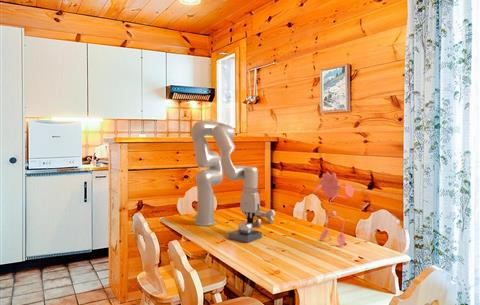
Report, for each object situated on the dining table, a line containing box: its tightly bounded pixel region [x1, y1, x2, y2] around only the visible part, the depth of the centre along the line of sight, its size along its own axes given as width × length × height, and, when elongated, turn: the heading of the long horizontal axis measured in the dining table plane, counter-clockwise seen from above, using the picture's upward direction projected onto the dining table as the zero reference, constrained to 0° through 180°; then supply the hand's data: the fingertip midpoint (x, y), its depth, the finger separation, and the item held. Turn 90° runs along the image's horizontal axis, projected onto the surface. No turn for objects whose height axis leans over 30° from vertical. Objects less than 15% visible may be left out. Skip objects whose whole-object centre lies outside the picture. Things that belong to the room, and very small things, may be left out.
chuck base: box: [228, 229, 263, 244], centre depth 182 cm, size 12×12×3 cm
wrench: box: [255, 209, 276, 224], centre depth 224 cm, size 8×2×30 cm
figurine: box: [312, 171, 355, 252], centre depth 171 cm, size 15×26×35 cm, turn 33°
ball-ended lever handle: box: [237, 218, 262, 234], centre depth 185 cm, size 16×7×4 cm, turn 142°
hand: (250, 224), depth 190 cm, fingers closed
